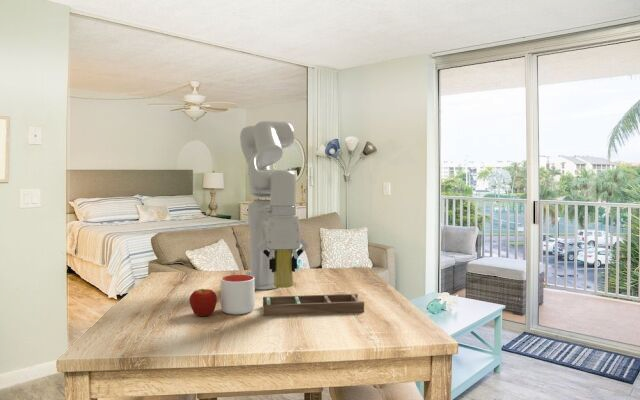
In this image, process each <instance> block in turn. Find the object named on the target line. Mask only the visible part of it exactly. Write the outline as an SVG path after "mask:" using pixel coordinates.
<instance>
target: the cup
mask: <svg viewBox="0 0 640 400" xmlns="http://www.w3.org/2000/svg"><path fill="white" fill-rule="evenodd" d="M255 291H256V289H255V278H254V277H253V276H250V275H245V274H230V275H224V276H222V277H221V278H220V309H221V311H222V312H224V313H225V314H228V315H245V314H248V313H250V312H252V311H253V310H254V309H255V305H256V303H255V302H256V301H255V299H256V298H255V297H256V296H255V295H256V294H255Z"/></svg>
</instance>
